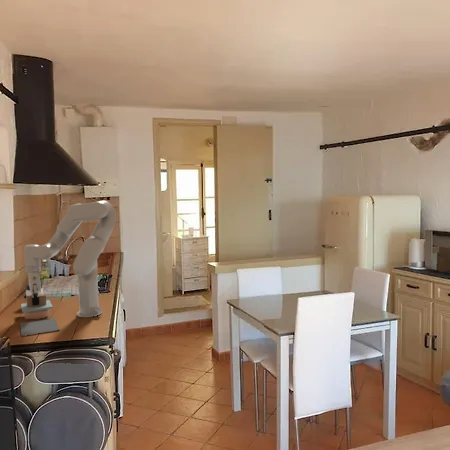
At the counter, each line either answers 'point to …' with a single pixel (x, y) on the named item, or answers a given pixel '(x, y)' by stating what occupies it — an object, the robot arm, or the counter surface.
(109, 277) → the counter surface
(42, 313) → the bowl
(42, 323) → the mat
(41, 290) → the jar
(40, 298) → the cover
